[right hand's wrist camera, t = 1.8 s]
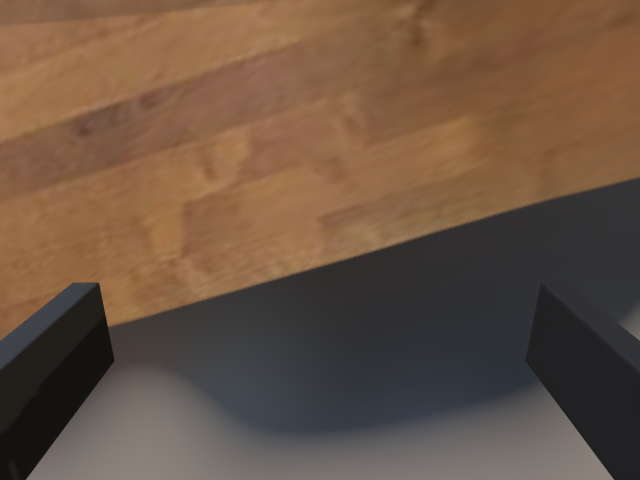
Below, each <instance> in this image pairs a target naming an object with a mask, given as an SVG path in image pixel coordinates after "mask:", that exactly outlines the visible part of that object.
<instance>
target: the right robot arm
mask: <svg viewBox="0 0 640 480" xmlns="http://www.w3.org/2000/svg"><path fill="white" fill-rule="evenodd" d="M113 362H114V356H113V351H112V346H111V341H110V336H109V331H108V326H107V321H106V316H105V311H104V306H103V301H102V296H101V291H100V286H99V283H72V284H71V285H70V286H68V287H67V288H66V289H65V290H63V291H62V292H61V293H60V294H58V295H57V296H56V297H55V298H53V299H52V300H51V301H50V302H48V303H47V304H46V305H45V306H43V307H42V308H41V309H40V310H38V311H37V312H36V313H35V314H33V315H32V316H31V317H30V318H28V319H27V320H26V321H25V322H23V323H22V324H21V325H20V326H18V327H17V328H16V329H15V330H13V331H12V332H11V333H10V334H8V335H7V336H6V337H5V338H3V339H2V340H1V341H0V480H26V479H27V477H28V476H29V475H30V473H31V472H32V471H33V469H34V468H35V467H36V465H37V464H38V463H39V461H40V460H41V459H42V457H43V456H44V455H45V453H46V452H47V451H48V449H49V448H50V447H51V445H52V444H53V443H54V441H55V440H56V438H57V437H58V436H59V434H60V433H61V432H62V430H63V429H64V428H65V426H66V425H67V424H68V422H69V421H70V420H71V418H72V417H73V416H74V414H75V413H76V412H77V410H78V409H79V408H80V406H81V405H82V404H83V402H84V401H85V400H86V398H87V397H88V396H89V394H90V393H91V392H92V390H93V389H94V388H95V386H96V385H97V384H98V382H99V381H100V380H101V378H102V377H103V375H104V374H105V373H106V371H107V370H108V369H109V367H110V366H111V365H112V363H113ZM526 362H527V363H528V365H529V366H530V367H531V369H532V370H533V371H534V373H535V374H536V375H537V377H538V378H539V380H540V381H541V382H542V383H543V385H544V386H545V388H546V389H547V390H548V392H549V393H550V394H551V395H552V397H553V398H554V400H555V401H556V402H557V404H558V405H559V406H560V408H561V409H562V410H563V412H564V413H565V414H566V416H567V417H568V418H569V420H570V421H571V422H572V424H573V425H574V426H575V428H576V429H577V430H578V432H579V433H580V434H581V436H582V437H583V438H584V440H585V441H586V443H587V444H588V445H589V446H590V448H591V449H592V451H593V452H594V453H595V455H596V456H597V457H598V459H599V460H600V461H601V463H602V464H603V465H604V467H605V468H606V469H607V471H608V472H609V473H610V475H611V476H612V477H613V479H614V480H640V341H639V340H638V339H637V338H635V337H634V336H633V335H632V334H630V333H629V332H628V331H627V330H625V329H624V328H623V327H622V326H620V325H619V324H618V323H617V322H615V321H614V320H613V319H612V318H610V317H609V316H608V315H607V314H605V313H604V312H603V311H602V310H600V309H599V308H598V307H597V306H595V305H594V304H593V303H592V302H590V301H589V300H588V299H587V298H585V297H584V296H583V295H582V294H580V293H579V292H578V291H577V290H575V289H574V288H573V287H572V286H570V285H569V284H568V283H541V286H540V291H539V296H538V301H537V306H536V311H535V316H534V321H533V326H532V331H531V336H530V341H529V346H528V351H527V356H526Z"/></svg>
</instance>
